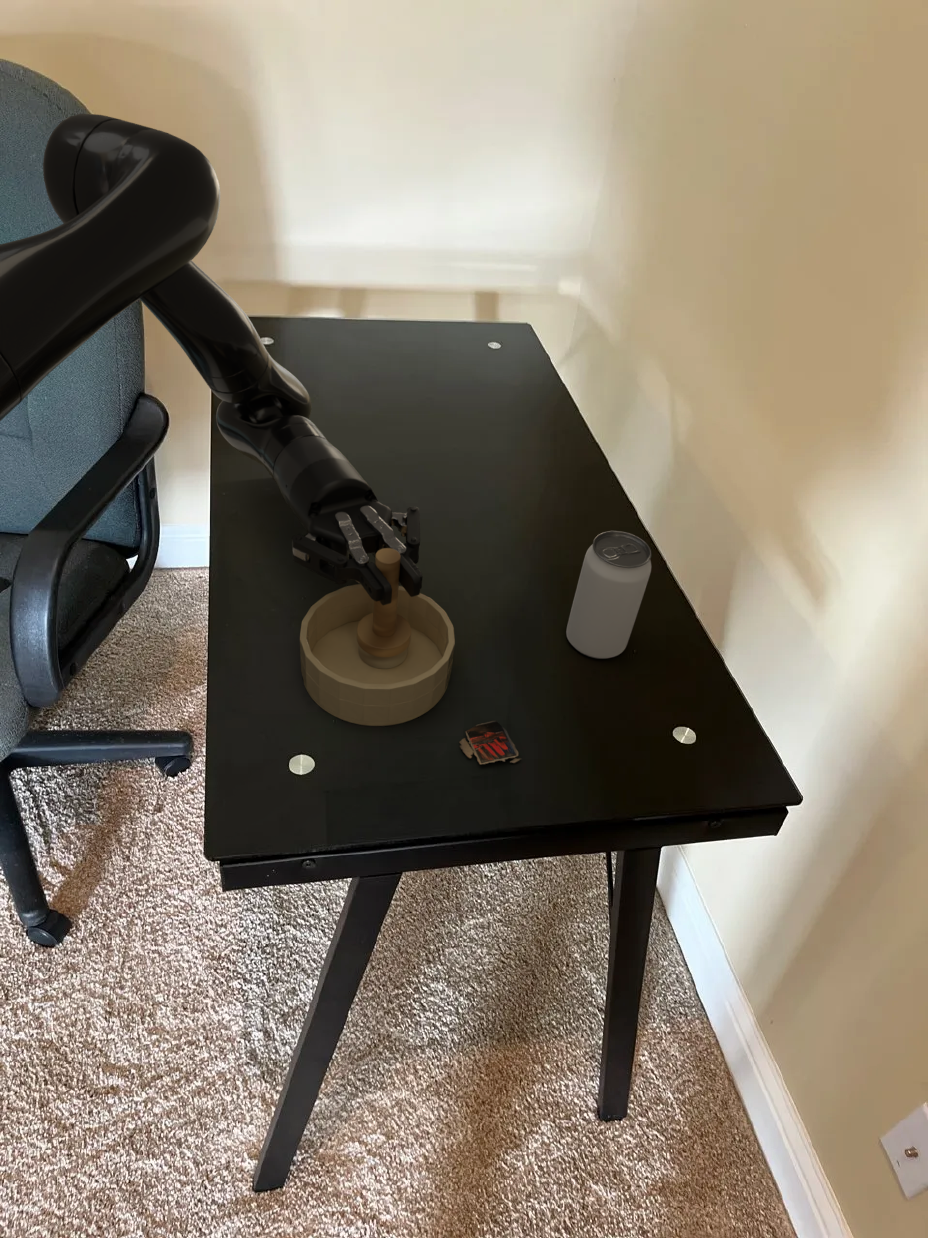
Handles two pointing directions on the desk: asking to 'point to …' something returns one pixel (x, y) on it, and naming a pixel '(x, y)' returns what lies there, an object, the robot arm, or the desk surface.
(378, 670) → the bowl
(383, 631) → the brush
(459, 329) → the desk surface
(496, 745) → the small printed card
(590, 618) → the can
